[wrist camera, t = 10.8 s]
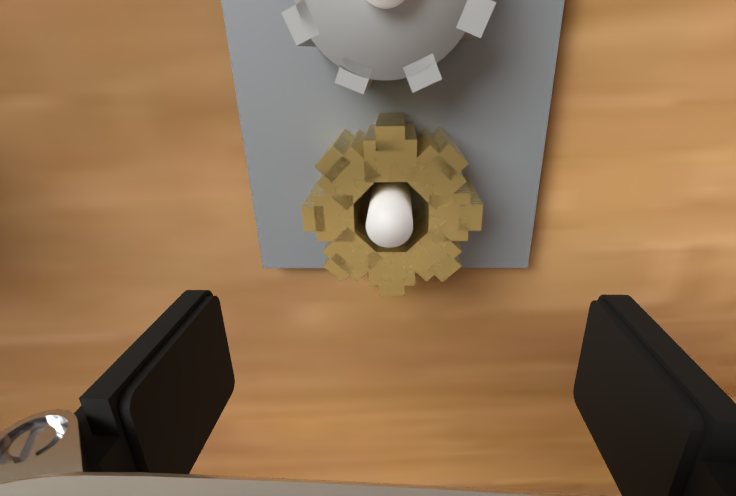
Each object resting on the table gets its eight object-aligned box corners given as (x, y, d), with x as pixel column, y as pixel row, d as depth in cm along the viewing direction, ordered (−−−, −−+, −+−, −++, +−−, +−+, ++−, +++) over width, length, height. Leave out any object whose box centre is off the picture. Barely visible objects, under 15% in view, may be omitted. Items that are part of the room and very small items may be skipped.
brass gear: (472, 109, 19) (490, 124, 15) (462, 255, 22) (475, 296, 18) (312, 114, 19) (293, 128, 16) (324, 255, 22) (310, 295, 19)
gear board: (571, -146, 16) (670, -258, 10) (520, 255, 23) (561, 324, 17) (215, -120, 17) (120, -210, 11) (270, 256, 24) (230, 321, 18)
